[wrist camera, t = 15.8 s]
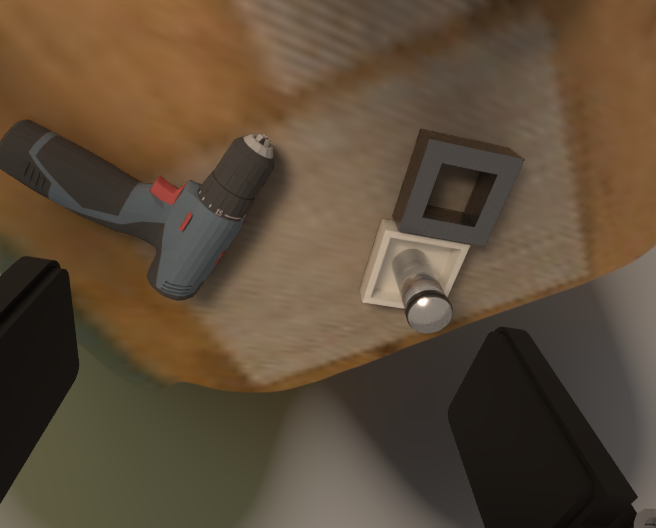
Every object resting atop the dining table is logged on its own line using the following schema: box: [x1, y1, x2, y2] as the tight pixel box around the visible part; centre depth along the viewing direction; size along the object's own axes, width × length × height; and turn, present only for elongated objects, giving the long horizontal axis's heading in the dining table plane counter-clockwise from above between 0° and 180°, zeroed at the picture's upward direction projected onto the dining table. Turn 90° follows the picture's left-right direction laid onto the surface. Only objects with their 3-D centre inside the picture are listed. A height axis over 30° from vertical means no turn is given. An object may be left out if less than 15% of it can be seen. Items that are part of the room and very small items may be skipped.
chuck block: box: [392, 129, 525, 246], centre depth 41 cm, size 9×9×3 cm
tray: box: [360, 219, 470, 309], centre depth 46 cm, size 9×9×3 cm
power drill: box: [0, 120, 274, 300], centre depth 38 cm, size 5×19×20 cm
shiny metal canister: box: [392, 249, 453, 333], centre depth 43 cm, size 4×4×9 cm
